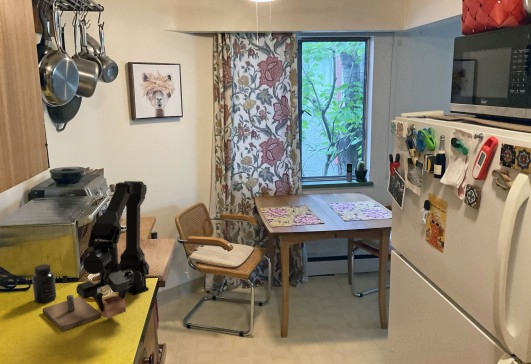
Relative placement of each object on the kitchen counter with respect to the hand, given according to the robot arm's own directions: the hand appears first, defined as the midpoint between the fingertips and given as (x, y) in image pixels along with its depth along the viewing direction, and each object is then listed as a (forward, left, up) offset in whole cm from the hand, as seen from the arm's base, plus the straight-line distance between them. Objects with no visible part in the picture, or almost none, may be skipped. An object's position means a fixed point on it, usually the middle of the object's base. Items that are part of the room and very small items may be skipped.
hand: (111, 307), depth 140 cm
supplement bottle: (+10, -29, -4) cm, 31 cm away
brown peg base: (+8, -12, -4) cm, 15 cm away
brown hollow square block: (0, 0, -1) cm, 1 cm away
